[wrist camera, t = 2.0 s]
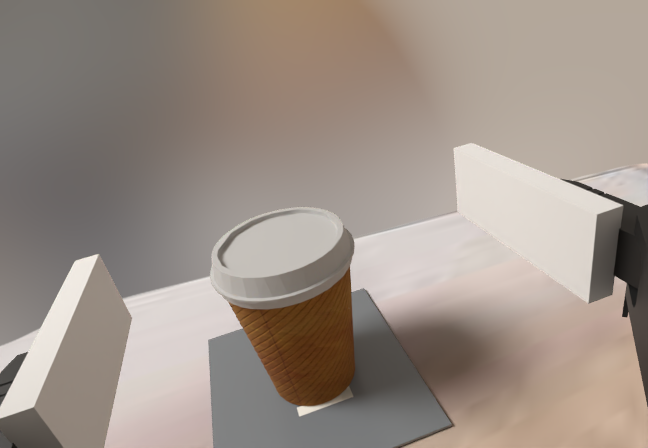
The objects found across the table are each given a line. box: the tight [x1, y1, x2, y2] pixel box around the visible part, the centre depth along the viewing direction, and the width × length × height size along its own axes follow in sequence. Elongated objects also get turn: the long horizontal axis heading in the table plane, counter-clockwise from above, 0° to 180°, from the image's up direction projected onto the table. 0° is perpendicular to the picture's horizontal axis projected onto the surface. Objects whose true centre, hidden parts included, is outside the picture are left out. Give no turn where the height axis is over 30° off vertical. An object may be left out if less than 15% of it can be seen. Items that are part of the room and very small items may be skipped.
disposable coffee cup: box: [210, 207, 355, 406], centre depth 30 cm, size 10×10×12 cm
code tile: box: [208, 288, 452, 448], centre depth 33 cm, size 15×16×1 cm
